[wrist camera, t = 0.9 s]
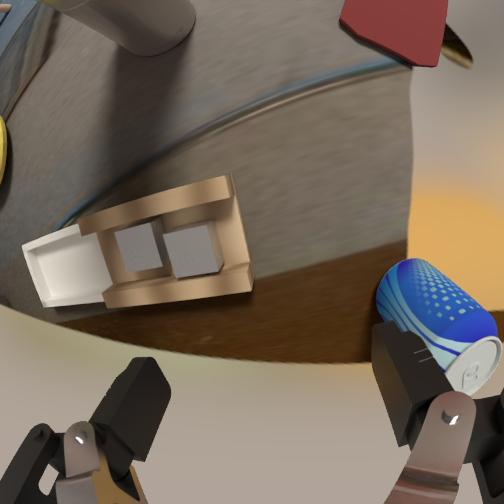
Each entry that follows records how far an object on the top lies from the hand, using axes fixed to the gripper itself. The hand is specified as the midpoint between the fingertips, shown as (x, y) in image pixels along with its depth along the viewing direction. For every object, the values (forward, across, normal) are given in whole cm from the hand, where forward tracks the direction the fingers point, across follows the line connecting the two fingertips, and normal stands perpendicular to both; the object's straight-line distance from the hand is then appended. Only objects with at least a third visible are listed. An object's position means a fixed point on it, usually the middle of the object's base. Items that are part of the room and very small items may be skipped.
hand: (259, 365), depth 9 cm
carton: (+21, -24, -28) cm, 43 cm away
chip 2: (+19, +8, 0) cm, 21 cm away
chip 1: (+19, +13, -2) cm, 23 cm away
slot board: (+20, +12, -1) cm, 23 cm away
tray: (+20, +28, -1) cm, 35 cm away
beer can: (+20, -14, +10) cm, 27 cm away
